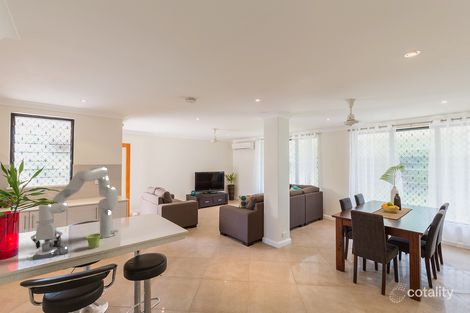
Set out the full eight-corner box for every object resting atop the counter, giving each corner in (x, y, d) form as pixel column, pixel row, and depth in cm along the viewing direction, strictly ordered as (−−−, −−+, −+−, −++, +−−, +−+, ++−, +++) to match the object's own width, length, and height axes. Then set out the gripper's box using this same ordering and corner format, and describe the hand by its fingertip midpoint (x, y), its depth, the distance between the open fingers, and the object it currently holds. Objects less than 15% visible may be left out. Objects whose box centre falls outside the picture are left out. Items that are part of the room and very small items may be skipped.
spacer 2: (69, 251, 152) (69, 244, 152) (66, 254, 147) (66, 247, 147) (60, 252, 150) (60, 245, 150) (57, 255, 145) (57, 248, 145)
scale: (44, 250, 154) (44, 238, 154) (63, 248, 158) (62, 236, 158) (32, 260, 140) (32, 247, 140) (52, 257, 143) (52, 244, 143)
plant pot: (86, 246, 160) (86, 235, 160) (101, 243, 165) (100, 232, 165) (86, 251, 152) (86, 238, 152) (101, 247, 158) (101, 235, 158)
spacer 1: (49, 251, 145) (49, 243, 145) (40, 252, 144) (40, 245, 144) (53, 248, 150) (53, 241, 150) (44, 249, 148) (44, 242, 148)
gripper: (27, 225, 140) (28, 251, 141) (59, 222, 146) (59, 247, 146) (33, 222, 148) (34, 246, 148) (63, 219, 153) (64, 242, 153)
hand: (47, 246), depth 147 cm, fingers open, 9 cm apart
